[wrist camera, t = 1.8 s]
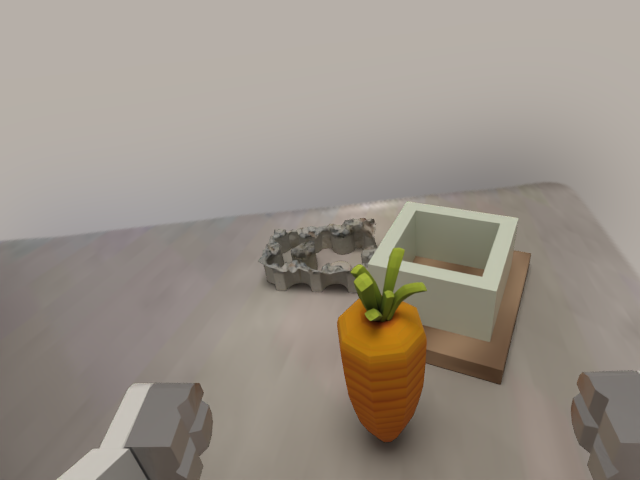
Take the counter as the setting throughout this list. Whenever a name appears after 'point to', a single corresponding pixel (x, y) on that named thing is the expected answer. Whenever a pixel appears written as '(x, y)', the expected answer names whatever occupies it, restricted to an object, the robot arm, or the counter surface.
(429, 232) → the square open planter
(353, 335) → the carrot
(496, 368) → the walnut board
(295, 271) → the egg carton
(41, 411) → the counter surface
